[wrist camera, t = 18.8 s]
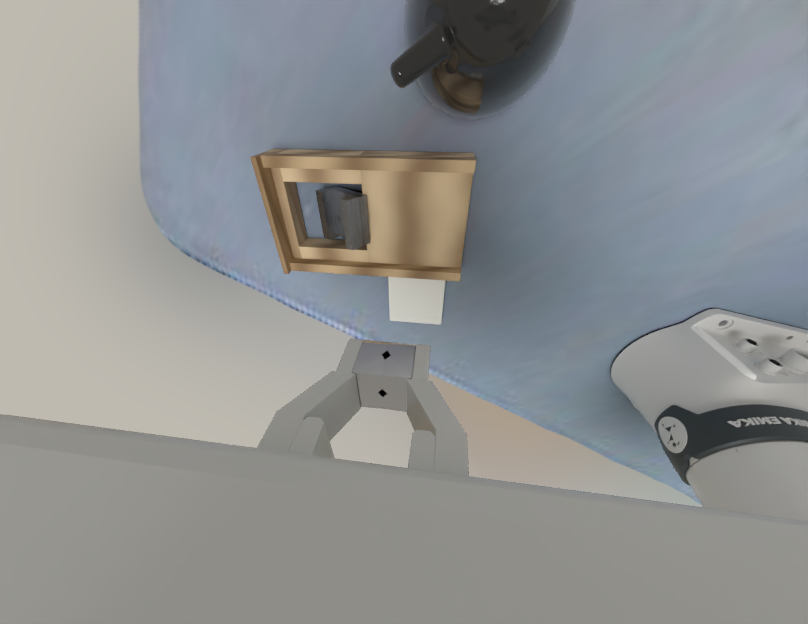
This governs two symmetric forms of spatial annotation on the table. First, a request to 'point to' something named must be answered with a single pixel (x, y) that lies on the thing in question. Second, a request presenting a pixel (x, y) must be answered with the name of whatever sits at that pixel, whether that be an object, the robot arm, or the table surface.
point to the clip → (344, 215)
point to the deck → (373, 210)
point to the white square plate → (416, 300)
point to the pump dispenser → (479, 51)
